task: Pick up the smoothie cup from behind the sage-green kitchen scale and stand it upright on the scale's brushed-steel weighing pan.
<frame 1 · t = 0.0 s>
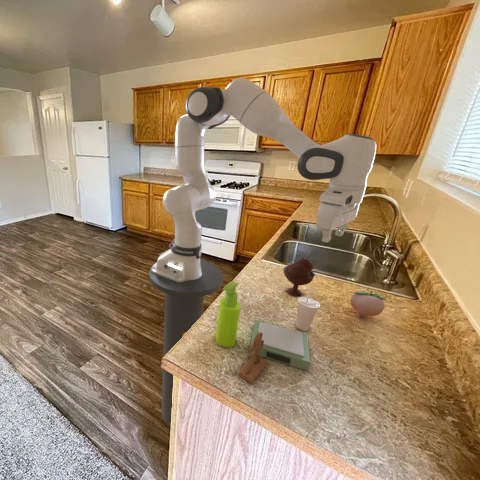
hand: (332, 238, 82), 29 cm above the counter, tool pointing down, fingers open, 8 cm apart
decorative fruit: (363, 316, 93), on the counter
scale: (277, 346, 78), on the counter
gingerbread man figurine: (252, 369, 70), on the counter
ice cream bowl: (294, 292, 106), on the counter
smoothie: (302, 327, 87), on the counter
soap dispenser: (224, 341, 80), on the counter
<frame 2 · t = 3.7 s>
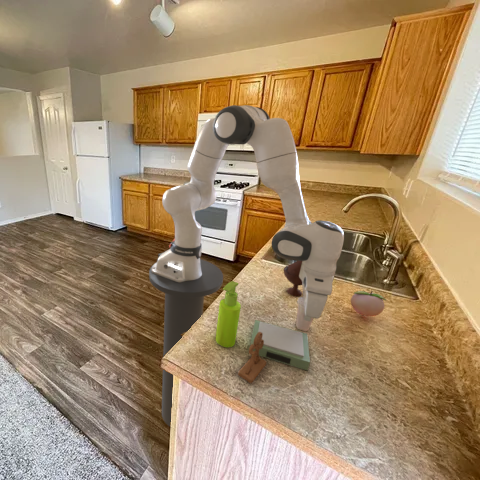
hand: (306, 312, 84), 6 cm above the counter, tool pointing down, fingers closed on smoothie, 6 cm apart
smoothie: (302, 327, 87), on the counter, touching gripper
everything else where it was.
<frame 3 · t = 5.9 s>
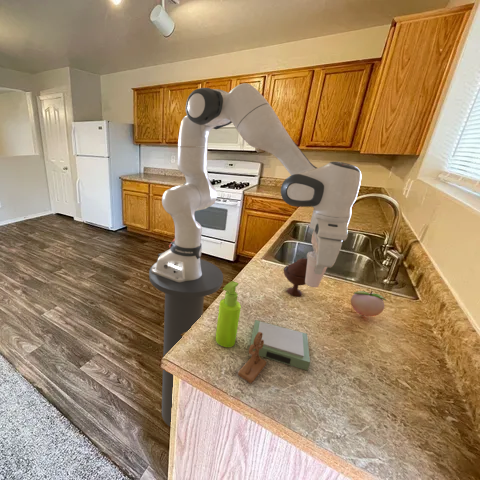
hand: (316, 267, 78), 22 cm above the counter, tool pointing down, fingers closed on smoothie, 6 cm apart
smoothie: (311, 284, 81), point 16 cm above the counter, touching gripper
everything else where it was.
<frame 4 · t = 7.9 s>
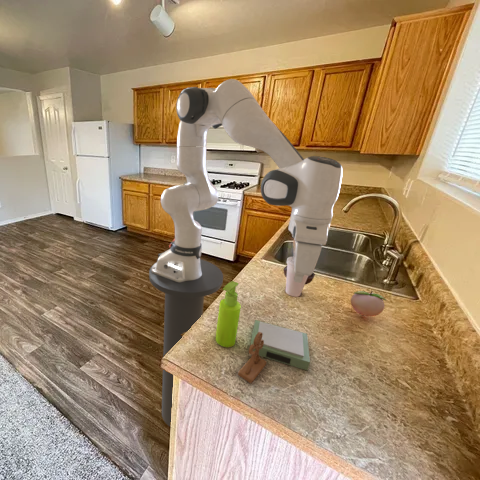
hand: (297, 274, 71), 24 cm above the counter, tool pointing down, fingers closed on smoothie, 6 cm apart
smoothie: (292, 293, 73), point 18 cm above the counter, touching gripper
everything else where it was.
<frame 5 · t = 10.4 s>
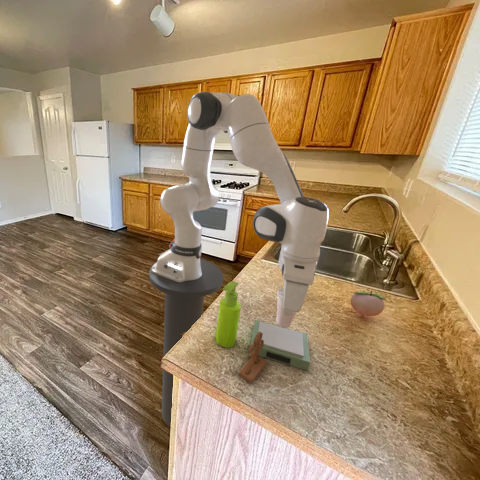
hand: (287, 306, 73), 14 cm above the counter, tool pointing down, fingers closed on smoothie, 6 cm apart
smoothie: (283, 323, 75), point 8 cm above the counter, touching gripper
everything else where it was.
when the fingers open (9 cm above the counter, at t = 12.4 s): smoothie stays where it is, resting on scale.
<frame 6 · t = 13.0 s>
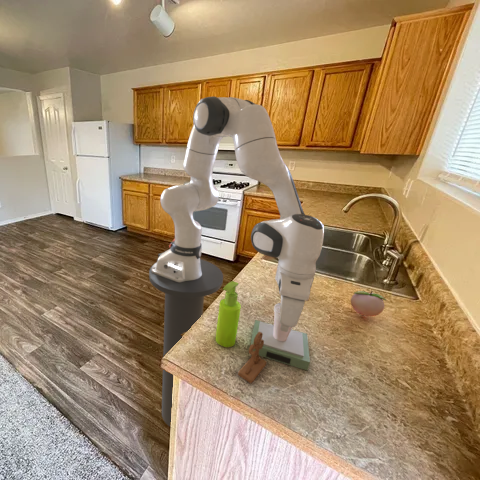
hand: (284, 319, 75), 10 cm above the counter, tool pointing down, fingers open, 8 cm apart
smoothie: (279, 337, 77), point 3 cm above the counter, touching scale
everything else where it was.
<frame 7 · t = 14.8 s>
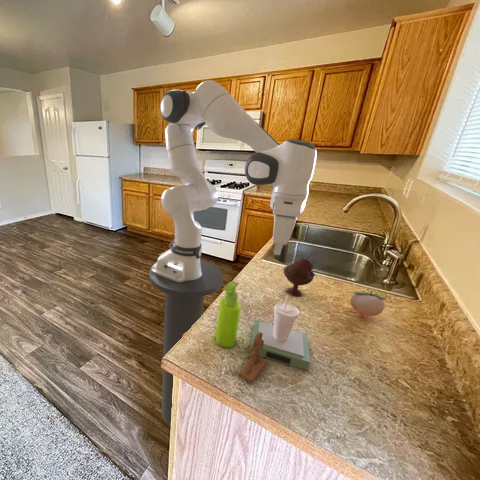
hand: (277, 247, 78), 27 cm above the counter, tool pointing down, fingers open, 8 cm apart
nothing on the counter moved.
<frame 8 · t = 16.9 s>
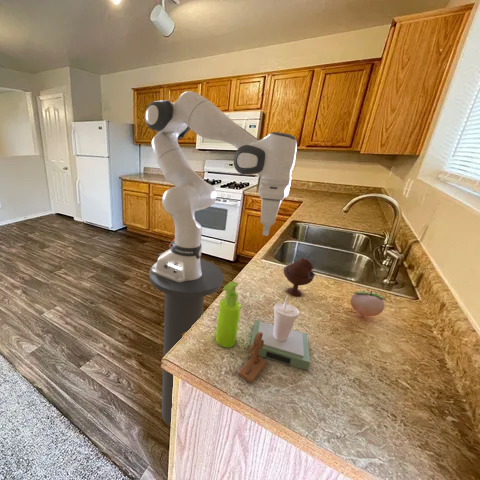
hand: (266, 230, 87), 29 cm above the counter, tool pointing down, fingers open, 8 cm apart
nothing on the counter moved.
at the end: smoothie inside the target area on the scale (0.1 cm from its centre), point 3.4 cm above the scale's base; smoothie tilted 0°; the gripper is holding nothing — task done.
